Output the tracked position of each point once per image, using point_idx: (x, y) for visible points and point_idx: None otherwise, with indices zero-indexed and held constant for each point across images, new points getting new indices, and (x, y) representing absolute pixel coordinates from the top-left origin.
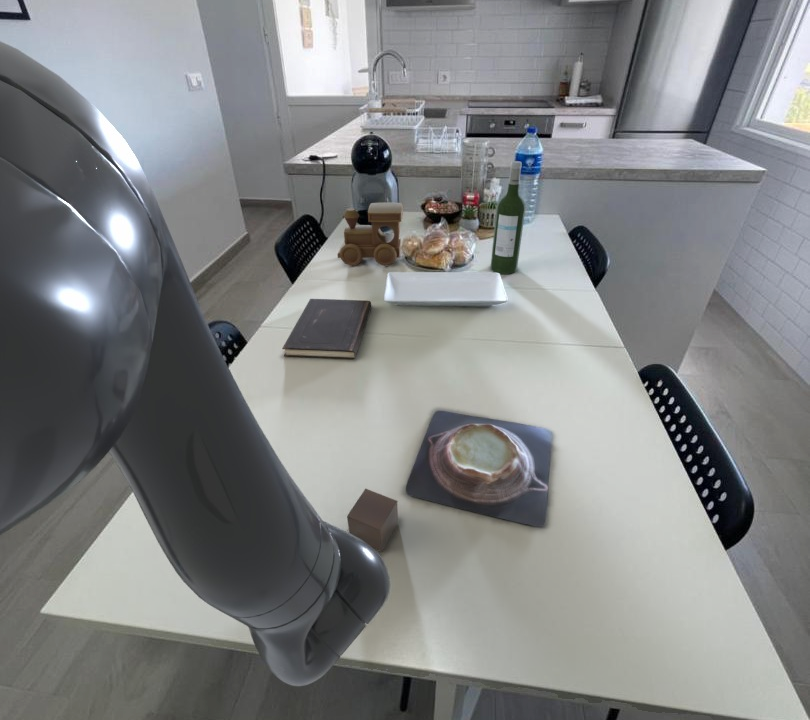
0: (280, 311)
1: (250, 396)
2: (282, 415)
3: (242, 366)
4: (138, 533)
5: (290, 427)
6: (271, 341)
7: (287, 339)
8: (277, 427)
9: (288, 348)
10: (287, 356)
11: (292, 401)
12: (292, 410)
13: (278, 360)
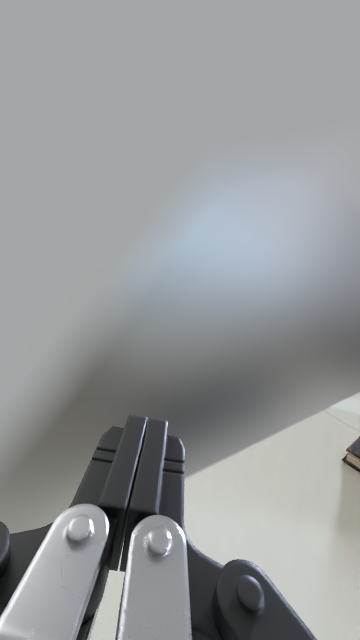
0: (341, 403)
1: (282, 489)
2: (329, 576)
3: (283, 437)
4: None
5: (344, 630)
6: (326, 429)
7: (355, 441)
8: (316, 601)
9: (356, 455)
10: (347, 463)
11: (352, 557)
12: (351, 581)
13: (332, 460)
